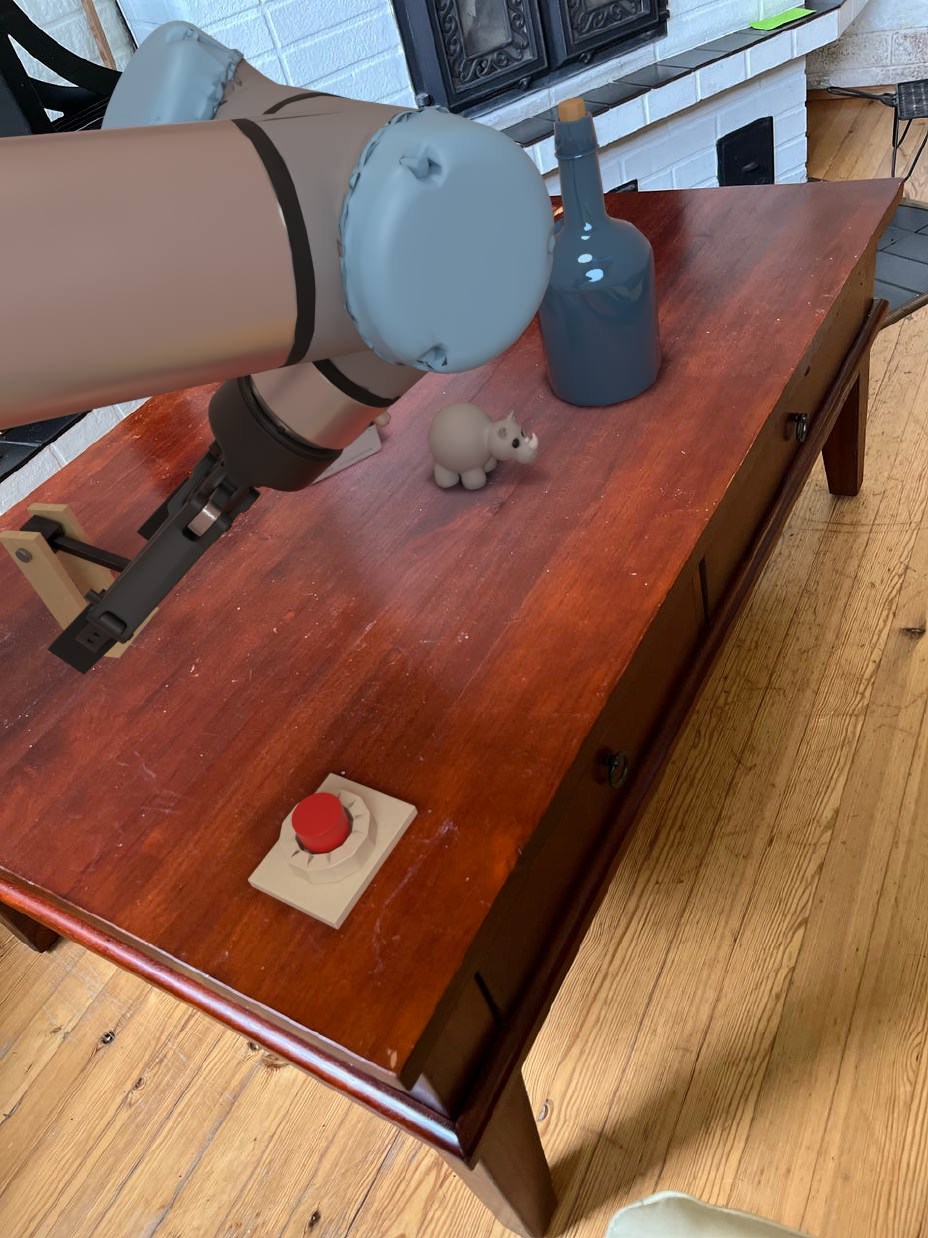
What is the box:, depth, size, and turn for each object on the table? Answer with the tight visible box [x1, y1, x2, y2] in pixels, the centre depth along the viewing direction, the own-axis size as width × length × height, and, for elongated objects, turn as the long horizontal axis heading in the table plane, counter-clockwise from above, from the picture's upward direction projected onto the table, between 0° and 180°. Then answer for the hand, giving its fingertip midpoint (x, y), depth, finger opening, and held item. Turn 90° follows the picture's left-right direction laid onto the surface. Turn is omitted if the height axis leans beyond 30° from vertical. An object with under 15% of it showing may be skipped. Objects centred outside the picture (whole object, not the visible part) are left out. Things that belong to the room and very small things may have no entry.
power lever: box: [18, 514, 133, 574], centre depth 82 cm, size 12×6×2 cm, turn 70°
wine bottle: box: [535, 97, 663, 407], centre depth 97 cm, size 14×13×30 cm
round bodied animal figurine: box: [427, 402, 539, 491], centre depth 95 cm, size 7×12×8 cm, turn 67°
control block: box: [247, 772, 418, 930], centre depth 65 cm, size 10×8×4 cm
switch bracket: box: [0, 502, 160, 659], centre depth 87 cm, size 9×7×15 cm
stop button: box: [291, 792, 350, 853], centre depth 63 cm, size 4×4×2 cm
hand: (114, 595), depth 63 cm, fingers open, 13 cm apart
